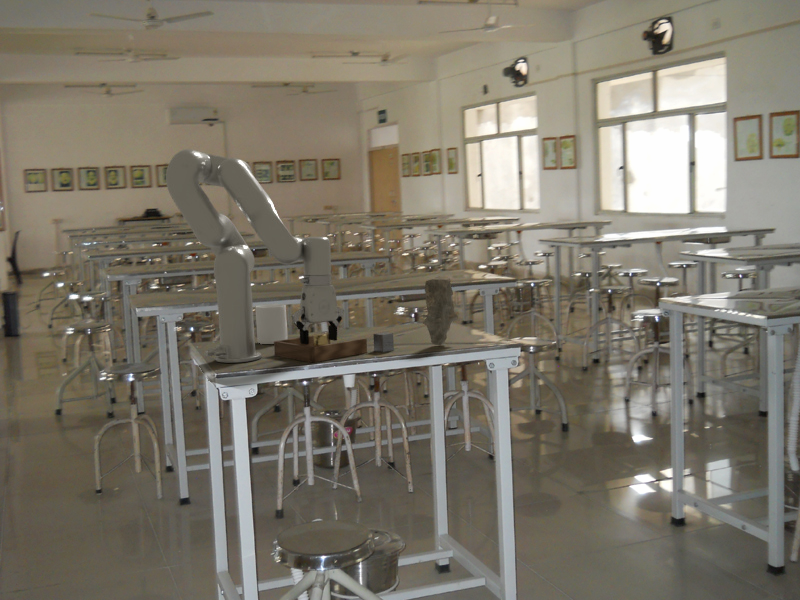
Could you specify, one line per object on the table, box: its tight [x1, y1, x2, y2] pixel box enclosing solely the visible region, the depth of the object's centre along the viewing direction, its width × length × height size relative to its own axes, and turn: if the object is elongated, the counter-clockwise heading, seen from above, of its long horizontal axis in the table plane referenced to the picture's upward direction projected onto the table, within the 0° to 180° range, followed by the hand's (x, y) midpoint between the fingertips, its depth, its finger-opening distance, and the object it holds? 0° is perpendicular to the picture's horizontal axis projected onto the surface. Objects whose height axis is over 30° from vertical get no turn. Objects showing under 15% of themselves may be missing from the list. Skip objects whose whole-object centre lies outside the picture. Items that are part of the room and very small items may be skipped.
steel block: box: [373, 331, 395, 353], centre depth 233 cm, size 4×4×5 cm
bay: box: [273, 332, 368, 363], centre depth 232 cm, size 19×18×4 cm
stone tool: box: [422, 276, 459, 346], centre depth 238 cm, size 12×6×20 cm, turn 118°
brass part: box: [313, 333, 328, 347], centre depth 229 cm, size 4×4×6 cm
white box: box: [255, 303, 288, 345], centre depth 257 cm, size 10×12×12 cm
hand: (318, 342), depth 229 cm, fingers open, 9 cm apart
